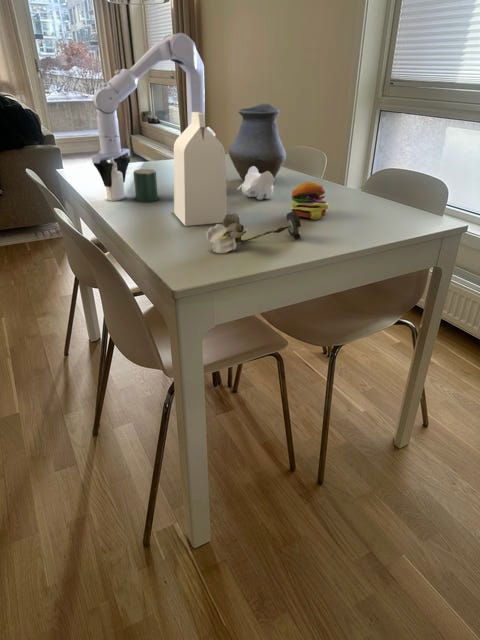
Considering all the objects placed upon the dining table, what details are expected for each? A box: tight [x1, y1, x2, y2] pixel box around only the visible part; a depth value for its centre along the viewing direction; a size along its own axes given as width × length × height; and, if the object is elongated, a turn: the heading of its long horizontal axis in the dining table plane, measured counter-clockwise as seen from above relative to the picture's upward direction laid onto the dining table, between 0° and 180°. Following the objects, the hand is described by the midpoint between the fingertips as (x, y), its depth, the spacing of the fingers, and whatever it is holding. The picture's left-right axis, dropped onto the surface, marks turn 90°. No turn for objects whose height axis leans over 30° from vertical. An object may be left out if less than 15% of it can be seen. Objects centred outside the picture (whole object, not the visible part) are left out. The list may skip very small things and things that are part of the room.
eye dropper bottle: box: [105, 158, 126, 202], centre depth 136 cm, size 4×6×12 cm
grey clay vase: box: [228, 103, 287, 182], centre depth 158 cm, size 21×22×25 cm
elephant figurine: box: [236, 166, 276, 201], centre depth 140 cm, size 10×12×9 cm
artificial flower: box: [206, 210, 302, 254], centre depth 104 cm, size 9×22×10 cm, turn 109°
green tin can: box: [132, 168, 158, 203], centre depth 137 cm, size 7×7×8 cm
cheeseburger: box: [290, 181, 329, 221], centre depth 126 cm, size 10×11×10 cm
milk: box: [173, 112, 228, 227], centre depth 117 cm, size 12×12×26 cm
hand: (114, 184), depth 136 cm, fingers closed on eye dropper bottle, 5 cm apart
